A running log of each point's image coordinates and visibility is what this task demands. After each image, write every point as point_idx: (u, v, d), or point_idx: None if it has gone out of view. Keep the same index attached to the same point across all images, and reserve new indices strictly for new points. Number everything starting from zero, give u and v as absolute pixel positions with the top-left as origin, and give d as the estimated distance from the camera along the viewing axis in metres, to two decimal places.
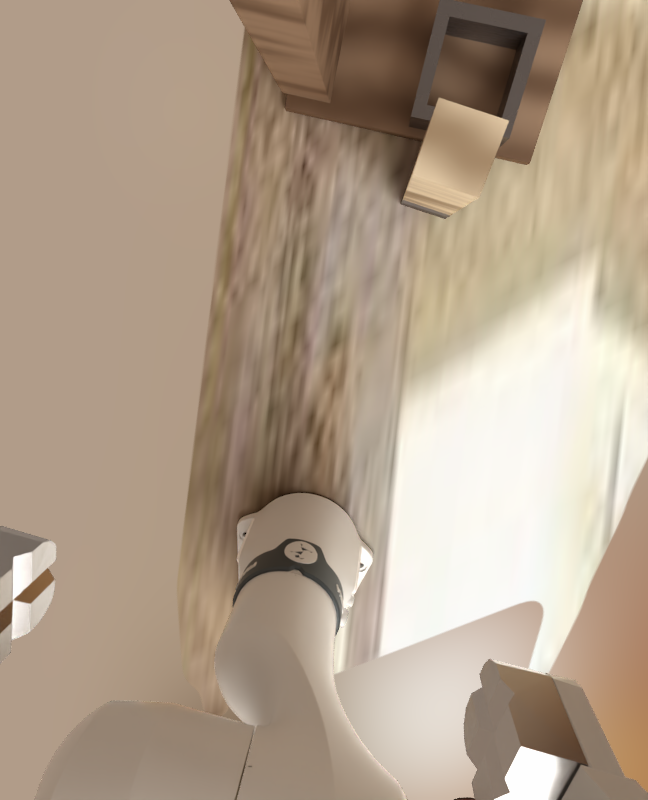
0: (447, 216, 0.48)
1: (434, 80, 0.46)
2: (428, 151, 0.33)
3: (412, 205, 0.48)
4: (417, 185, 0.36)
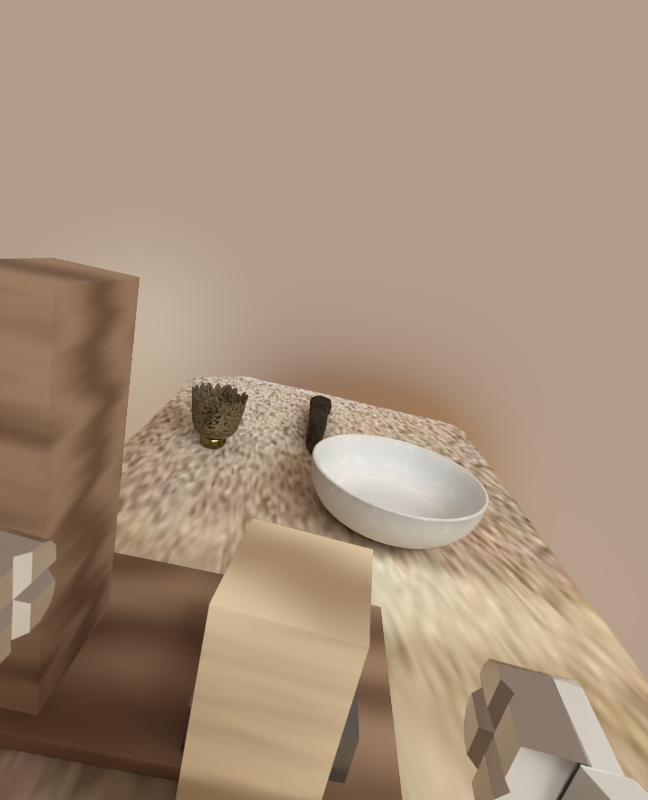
0: None
1: None
2: (242, 572, 0.16)
3: None
4: (214, 692, 0.15)
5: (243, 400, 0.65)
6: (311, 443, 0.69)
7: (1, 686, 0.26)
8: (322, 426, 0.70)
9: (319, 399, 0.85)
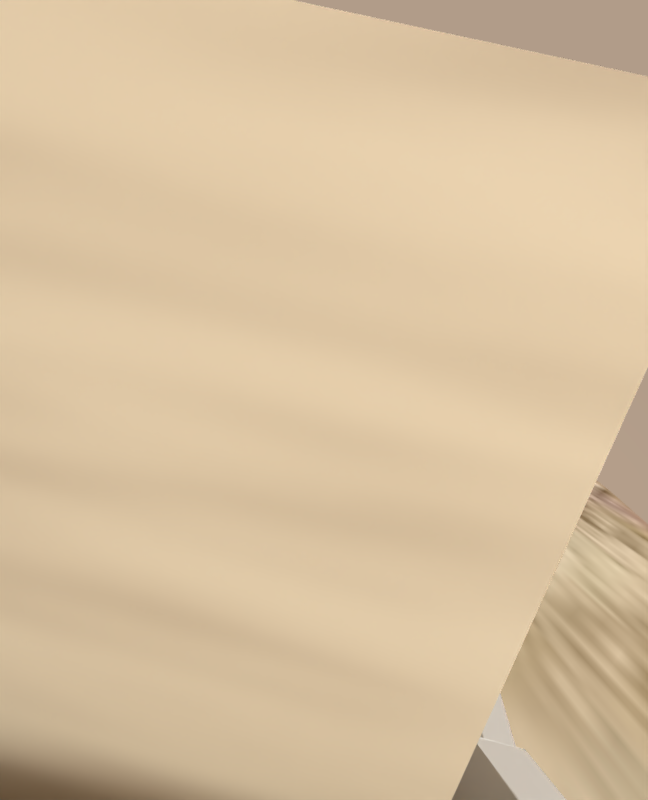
0: None
1: None
2: None
3: None
4: (59, 436, 0.04)
5: None
6: None
7: None
8: None
9: None
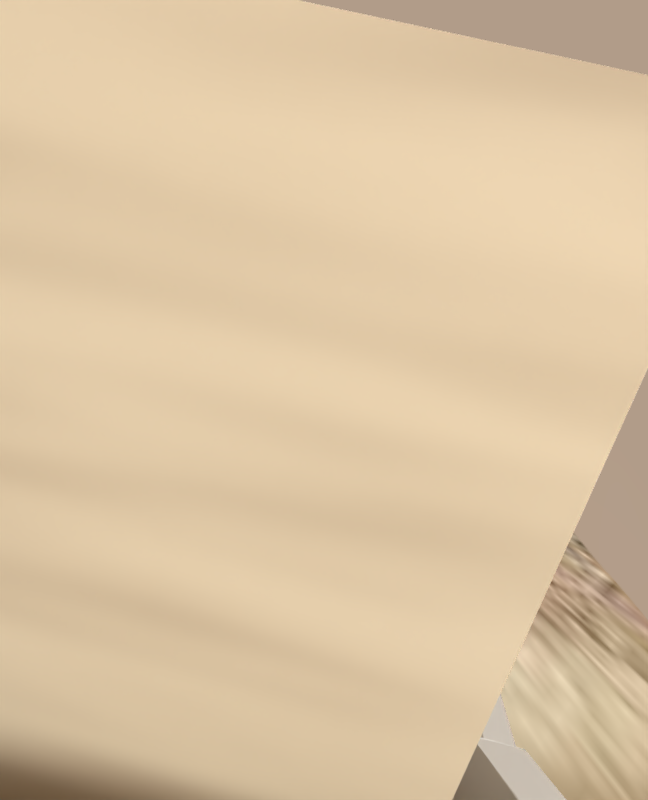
0: None
1: None
2: None
3: None
4: (58, 436, 0.04)
5: None
6: None
7: None
8: None
9: None
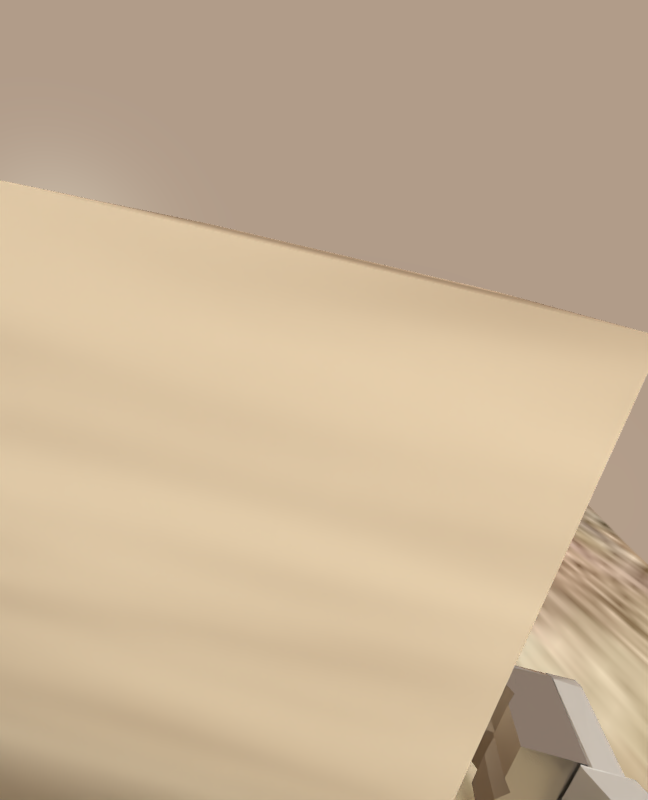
0: None
1: None
2: (159, 215, 0.05)
3: None
4: (52, 575, 0.04)
5: None
6: None
7: None
8: None
9: None
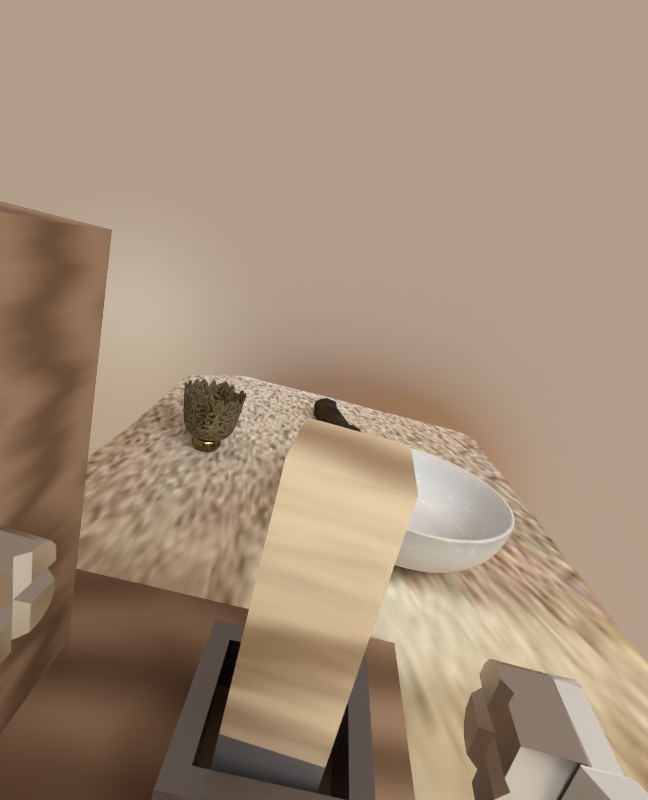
0: (315, 789, 0.21)
1: (203, 750, 0.24)
2: (307, 445, 0.19)
3: (235, 772, 0.22)
4: (283, 540, 0.18)
5: (241, 399, 0.59)
6: None
7: None
8: None
9: (326, 402, 0.79)
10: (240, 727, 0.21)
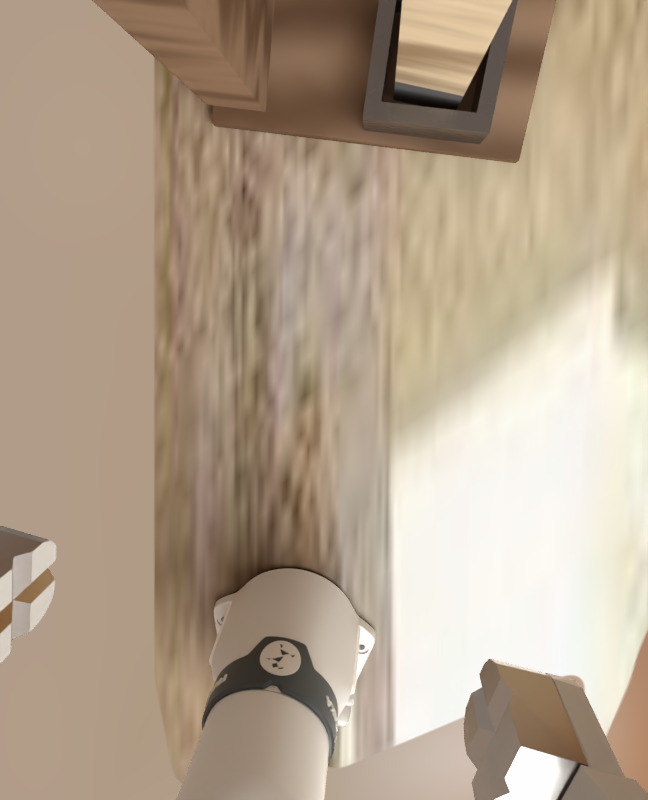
0: (458, 102, 0.35)
1: (390, 70, 0.37)
2: None
3: (409, 94, 0.35)
4: (415, 6, 0.23)
5: None
6: None
7: (235, 102, 0.37)
8: None
9: None
10: (407, 80, 0.33)
